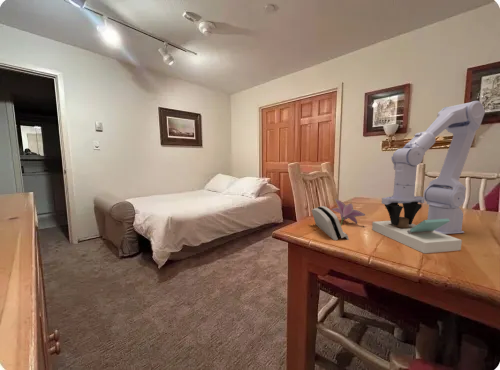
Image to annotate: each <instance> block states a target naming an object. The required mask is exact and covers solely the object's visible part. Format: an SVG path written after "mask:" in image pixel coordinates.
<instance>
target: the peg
mask: <svg viewBox="0 0 500 370" xmlns="http://www.w3.org/2000/svg"><path fill="white" fill-rule="evenodd" d="M408 226H409V219H408V218H406V217H404V216H399V223H398V225H394V227H397V228H399V229H408Z"/></svg>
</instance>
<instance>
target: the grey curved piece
mask: <svg viewBox="0 0 500 370" xmlns="http://www.w3.org/2000/svg"><path fill="white" fill-rule="evenodd" d="M311 213H312V217H313V219H314V224H315V225H316V226H317V227H318V228H319V229H320V230H321V231H322V232H324V233H325V234H326V235H327V236H329V237H330V238H331V239H332V240H333V241H337V240H338V239H339V238H340V239H343V238H345V239H346V240H347V241H349V240H350V239H349V235H348V234H347V233H346V232H344V231H343V228H342V225H341V222H340V220H339V217H338V216H337V214H336V213H334V212H333V210H332V209H330V208H328V207H327V206H325V205H321V206H317V207H315V208H313V209H311Z"/></svg>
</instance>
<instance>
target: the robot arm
mask: <svg viewBox="0 0 500 370" xmlns="http://www.w3.org/2000/svg"><path fill="white" fill-rule="evenodd" d="M485 110H486V109H485V108H484V104H483V103H482V102H481V101H480V100H472V101H470V102H466V103H465V102H464V103H460V104H456V105H451V106H445V107H443V108H441V110H440V111H438V112H437V116H436V119H435V120H434V121H433V122H432V123H431V124H430V125H428V127H427V129H426V130H424V131H419V132H416V133H415V134H414V136H413V137H412V138H411V139H410V140H409V141H408V142H407V143H406V144H404V146H403V147H402V148H397V149H396V150H395V151H394V152H393V154H392V155H391V158H390V159H391V162H392V164H393V169H394V180H393V182H394V183H393V195H391V196H387V197H381V204H382V205H384V207H385V208H386V210H387V213H388V216H389V219H390V220H389V221H391V224H393V225H398V223H399V217H401V214H402V213H401V212H402V210H403V217H406V218H408V219H409V225H411V224H413V221H414V219H415V216H417V213H418V212H419V211H420V210H421V208H422V207H423V206H422V205H423V204H424V203H425V202H426V204H427V205H428V212H427V219H426V220H434V219H449V220H450V221H449V222H448V223H446V224H444V225H442V226H441V227H439V228H437V229H436V230H434V231H436V232H439V233H442V234H445V235H450V234H451V235H453V234H454V235H455V234H464V233H465V231H464V230H462V229H463V221H464V213H463V210H462V209H461V208H460V207H461V206H462V205H463V204H464V202H465V200H466V190H467V187H466V186H465V185H464V184H463V183H462V182H461V181H460V177H461V175H462V172H463V169H464V167H465V164H466V161H467V157H468V155H469V152H470V150H471V147H472V144H473V142H474V139H475V136H476V134H477V131H478V130H479V129H480V127H481V125H482V122H483V119H484V116H485V114H486V111H485ZM445 130H446V131H447V132H448V133H450V134H452V135H453V136H452V138H451V141H450V144H449V146H448V147H449V148H448V149H447V153H446V156H445V159H444V162H443V164H442V167H441V169H440V171H439V176H438V177H436V178H434V179H433V180H431V181H429V183H428V186H427V187H426V188H425V190H424V192H423V196H419V195H418V196H417V195H415V191H416V178H417V167H418V165H420V164H421V163H422V161H423V160H424V159H423V158H424V156H425V155H426V152H427V151H428V150H430V148H432V146H434V144H436V137H438V136H439V135H440V134H441V133H443V132H444V131H445ZM399 204H402V205H399Z"/></svg>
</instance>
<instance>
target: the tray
mask: <svg viewBox="0 0 500 370" xmlns="http://www.w3.org/2000/svg"><path fill="white" fill-rule="evenodd" d="M371 225H372V226H371V230H372V231H374V232H376V233H378V234H381V235H383V236H385V237H387V238H389V239H392V240H394V241H396V242H398V243H401V244H402V245H405V246H406V247H409V248H411V249H413V250H416V251H418V252H420V253H422V254H432V253H434V254H435V253H444V252H453V251H454V252H455V251H456V252H457V251H461V249H462V242H463V240H462V239H460V238H458V237H454V236H451V235H449V234H442V233H439V232H436V231H433V232H421V233H408V232H407V231H408V230H410V229H412V228H413V227H415V226H416V225H417V224H415V223H412V224H411V225H409V226H408V229H399V228H397V227H394V225H393V224H391V220H382V221H381V220H378V221H372V224H371Z"/></svg>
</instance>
